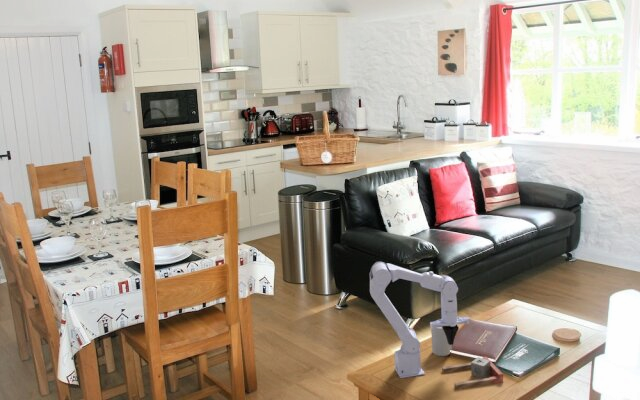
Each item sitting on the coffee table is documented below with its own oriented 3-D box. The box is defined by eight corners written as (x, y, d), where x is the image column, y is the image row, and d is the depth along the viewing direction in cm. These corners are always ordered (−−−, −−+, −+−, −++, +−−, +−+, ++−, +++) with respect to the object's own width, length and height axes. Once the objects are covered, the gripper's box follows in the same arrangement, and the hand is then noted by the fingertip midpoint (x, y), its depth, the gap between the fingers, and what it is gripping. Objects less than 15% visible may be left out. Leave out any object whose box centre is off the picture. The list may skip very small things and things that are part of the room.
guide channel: (456, 389, 215) (455, 381, 215) (442, 370, 229) (441, 363, 228) (503, 381, 218) (502, 373, 217) (486, 363, 231) (486, 356, 231)
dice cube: (478, 369, 228) (478, 357, 227) (490, 373, 224) (490, 360, 223) (471, 375, 224) (471, 362, 223) (483, 378, 221) (483, 366, 220)
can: (451, 357, 239) (450, 328, 236) (432, 357, 240) (430, 328, 238) (451, 348, 246) (450, 320, 244) (432, 348, 248) (431, 320, 245)
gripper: (433, 316, 221) (435, 350, 223) (472, 310, 223) (473, 345, 225) (427, 309, 228) (429, 342, 230) (464, 303, 230) (465, 337, 232)
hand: (450, 343), depth 228 cm, fingers closed
